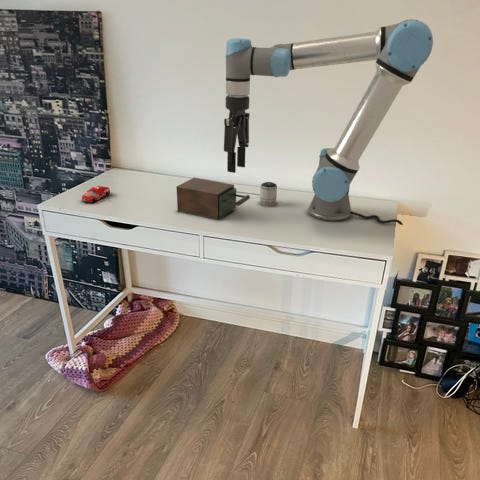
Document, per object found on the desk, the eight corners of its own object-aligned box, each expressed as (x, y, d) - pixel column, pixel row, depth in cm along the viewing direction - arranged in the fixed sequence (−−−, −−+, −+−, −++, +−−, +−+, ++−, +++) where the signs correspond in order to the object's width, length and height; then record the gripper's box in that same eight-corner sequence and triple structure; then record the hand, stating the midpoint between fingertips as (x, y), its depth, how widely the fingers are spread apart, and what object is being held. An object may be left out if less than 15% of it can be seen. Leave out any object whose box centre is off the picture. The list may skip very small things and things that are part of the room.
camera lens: (274, 200, 189) (275, 180, 184) (277, 206, 183) (278, 186, 179) (258, 201, 188) (259, 181, 184) (261, 206, 183) (262, 186, 178)
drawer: (251, 211, 176) (252, 191, 172) (237, 221, 168) (237, 200, 164) (199, 200, 184) (199, 181, 180) (183, 209, 176) (183, 189, 172)
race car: (90, 204, 181) (88, 194, 178) (79, 202, 182) (77, 192, 180) (113, 194, 190) (111, 184, 188) (102, 192, 192) (100, 182, 190)
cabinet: (233, 209, 180) (234, 184, 175) (217, 220, 171) (217, 194, 166) (195, 201, 186) (194, 177, 181) (177, 211, 177) (176, 186, 172)
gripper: (240, 90, 161) (239, 160, 173) (211, 98, 146) (212, 174, 159) (261, 92, 158) (258, 164, 170) (234, 100, 143) (232, 178, 156)
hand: (236, 169), depth 165 cm, fingers open, 6 cm apart
